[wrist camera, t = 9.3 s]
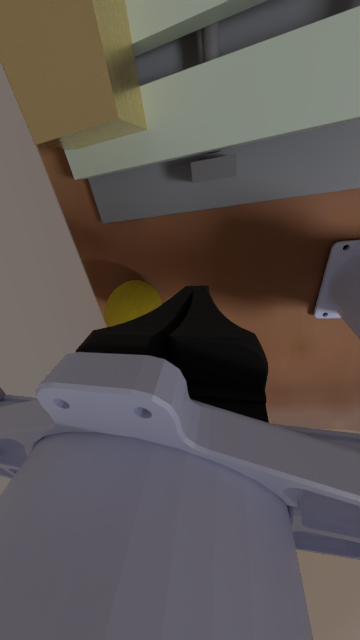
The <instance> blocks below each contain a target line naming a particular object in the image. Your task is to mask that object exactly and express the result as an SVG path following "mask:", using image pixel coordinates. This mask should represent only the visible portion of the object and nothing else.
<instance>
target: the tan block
mask: <svg viewBox="0 0 360 640" xmlns="http://www.w3.org/2000/svg"><path fill="white" fill-rule="evenodd" d="M0 61H1V63H2V66H3V68H4V71H5V73H6V75H7V78H8V80H9V83H10V85H11V87H12V90H13V92H14V95H15V97H16V99H17V102H18V104H19V107H20V109H21V111H22V114H23V116H24V119H25V121H26V123H27V126H28V128H29V131H30V133H31V135H32V138H33V140H34V143H35V145H39V146H47V147H55V148H63V149H72V150H77V149H81V148H84V147H88V146H91V145H95V144H98V143H102V142H105V141H109V140H112V139H116V138H120V137H123V136H127V135H130V134H134V133H137V132H141V131H144V130H147V125H146V119H145V113H144V107H143V102H142V96H141V90H140V84H139V78H138V73H137V67H136V61H135V55H134V49H133V44H132V38H131V32H130V26H129V20H128V15H127V9H126V3H125V0H0Z"/></svg>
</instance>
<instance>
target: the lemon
mask: <svg viewBox="0 0 360 640" xmlns="http://www.w3.org/2000/svg"><path fill="white" fill-rule="evenodd" d="M161 305H162V301H161V297H160V295H159V293H158V291H157V290H156V289H155V288H154V287H153V286H152V285H151V284H149V283H147V282H145V281H141V280H131V281H128V282H125V283H123V284H121V285H120V286H118V287H117V288H116V289H115V290H114V291H113V292H112V294H111V295H110V296H109V298H108V300H107V303H106V306H105V310H104V316H105V321H106V323H107V325H108V327H111V326H115V325H118V324H121V323H125V322H127V321H130V320H133V319H135V318H138V317H140V316H142V315H145V314H147V313H149V312H150V311H152V310H154V309H156V308H158V307H159V306H161Z"/></svg>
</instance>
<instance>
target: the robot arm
mask: <svg viewBox="0 0 360 640" xmlns="http://www.w3.org/2000/svg"><path fill="white" fill-rule="evenodd" d="M345 245H348V246H347V248H346V249H343V247H344V246H345ZM323 313H326V314H324V315H323ZM314 316H315V317H316V318H342V319H343V320H344V321H345V322H346V324H347V325H348V326H349V327H350V328H351V330H352V331H353V332H354V333H355V334H356V335H357V337H358V338H359V339H360V240H349V241H339V242H336V243H334V244H333V246H332V248H331V251H330V255H329V258H328V262H327V266H326V269H325V273H324V277H323V280H322V284H321V288H320V291H319V295H318V299H317V302H316V306H315V310H314ZM267 375H268V362H267V359H266V356H265V353H264V351H263V349H262V346H261V344H260V342H259V340H258V339H257V337H256V335H255V334H254V333H252V332H250V331H247V330H245V329H243V328H241V327H239V326H237V325H236V324H234V323H233V322H231V321H230V320H229V319H227V318H226V317H225V316H224V315H223V314H222V313H221V312H220V311H219V309H218V308H217V307H216V305H215V304H214V302H213V300H212V298H211V296H210V294H209V287H208V286H186V287H184V288H183V289H182V290H180V291H179V292H178V293H177V294H176V295H174V296H173V297H172V298H171V299H169V300H168V301H166V302H165V303H164V304H162V305H161V306H159V307H158V308H156V309H154V310H152V311H150V312H149V313H147V314H145V315H142V316H140V317H138V318H135V319H133V320H130V321H127V322H125V323H121V324H118V325H115V326H111V327H107V328H102V329H99V330H93V331H92V332H91V334H90V335H89V336H88V337H87V338H86V339H85V341H84V342H83V343H82V344H81V345H80V346H79V348H78V349H77V350H76V352H75V353H72V354H68V355H66V356H65V357H64V358H63V359H62V360H61V361H60V362H59V363H58V365H56V366H55V368H54V369H53V370H52V371H51V372H50V373H49V374H48V375H47V376H46V378H45V379H44V380H43V381H42V382H41V383H40V384H39V387H38V388H37V390H36V396H37V398H31V397H22V396H13V395H5V393H4V391H3V390H2V389H1V388H0V475H1V476H4V477H8V478H10V479H12V480H11V481H10V482H9V484H8V485H7V487H6V488H5V489H4V491H3V492H2V494H1V495H0V640H313V637H312V631H311V626H310V621H309V616H308V610H307V605H306V599H305V594H304V589H303V584H302V578H301V573H300V568H299V563H298V557H297V552H296V550H302V551H308V552H314V553H320V554H327V555H332V556H339V557H345V558H351V559H357V560H360V434H356V433H348V432H338V431H330V430H320V429H311V428H302V427H293V426H284V425H275V424H270V423H269V422H268V416H267V411H266V405H265V404H266V395H265V386H266V381H267Z"/></svg>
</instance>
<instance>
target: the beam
mask: <svg viewBox="0 0 360 640" xmlns="http://www.w3.org/2000/svg"><path fill="white" fill-rule="evenodd" d="M265 1H267V0H125V3H126V9H127V15H128V20H129V26H130V32H131V38H132V44H133V49H134V55H135V56H138V55H140V54H142V53H145V52H147V51H149V50H152V49H154V48H156V47H159V46H161V45H164V44H166V43H168V42H171V41H173V40H175V39H178V38H180V37H182V36H185V35H187V34H190V33H192V32H194V31H197V30H199V29H201V40H202V59H203V63H202V64H200V65H197V66H194V67H191V68H189V69H186V70H183V71H180V72H178V73H175V74H172V75H170V76H167V77H164V78H161V79H159V80H156V81H153V82H150V83H148V84H145V85H142V86H140V90H141V96H142V102H143V107H144V113H145V119H146V125H147V130H144V131H141V132H137V133H134V134H130V135H127V136H123V137H120V138H116V139H112V140H109V141H105V142H102V143H98V144H95V145H91V146H88V147H84V148H81V149H77V150H72V149H64V151H65V154H66V157H67V160H68V163H69V165H70V168H71V171H72V174H73V176H74V179H75V180H81V179H88V178H93V177H98V176H102V175H107V174H111V173H116V172H120V171H125V170H130V169H134V168H139V167H143V166H148V165H153V164H157V163H162V162H166V161H171V160H176V159H180V158H185V157H189V156H194V155H199V154H203V153H207V154H210V153H216V152H220V151H222V149H226V148H231V147H235V146H240V145H244V144H249V143H254V142H258V141H263V140H267V139H272V138H277V137H281V136H286V135H290V134H295V133H300V132H304V131H309V130H313V129H318V128H323V127H327V126H332V125H336V124H341V123H345V122H350V121H355V120H359V119H360V6H358V7H356V8H353V9H350V10H347V11H345V12H342V13H339V14H336V15H334V16H331V17H328V18H325V19H323V20H320V21H317V22H315V23H312V24H309V25H306V26H304V27H301V28H298V29H295V30H293V31H290V32H287V33H284V34H282V35H279V36H276V37H273V38H271V39H268V40H265V41H263V42H260V43H257V44H254V45H252V46H249V47H246V48H243V49H241V50H238V51H235V52H232V53H230V54H227V55H224V56H222V57H220V34H219V21H220V20H223V19H225V18H227V17H230V16H232V15H234V14H237V13H239V12H241V11H244V10H246V9H249V8H251V7H253V6H256V5H258V4H260V3H263V2H265Z"/></svg>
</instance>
